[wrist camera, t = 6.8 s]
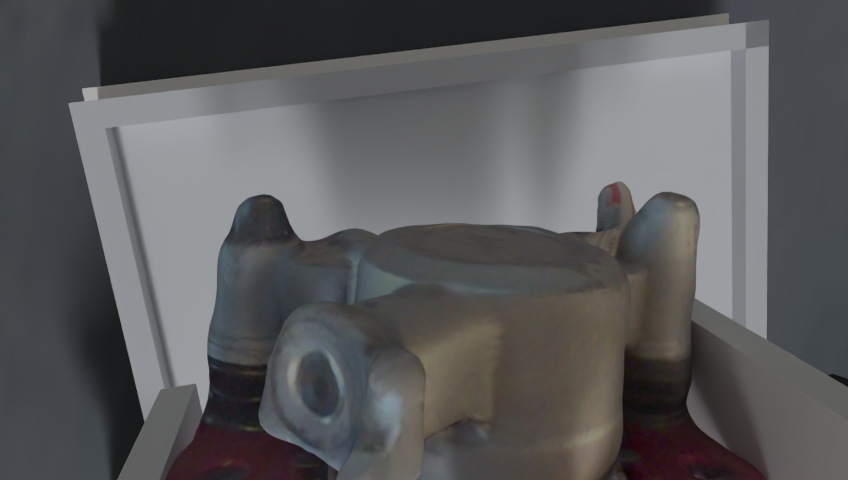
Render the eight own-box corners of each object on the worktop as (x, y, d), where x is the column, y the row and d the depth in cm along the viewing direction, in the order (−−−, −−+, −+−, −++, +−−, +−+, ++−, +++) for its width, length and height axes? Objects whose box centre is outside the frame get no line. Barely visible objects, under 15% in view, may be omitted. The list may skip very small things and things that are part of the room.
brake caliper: (186, 699, 16) (-47, 977, 5) (224, 256, 20) (143, -89, 10) (651, 662, 18) (1199, 808, 7) (588, 264, 22) (859, -15, 12)
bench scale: (122, 641, 29) (40, 886, 20) (-24, 102, 23) (-224, 117, 14) (706, 514, 32) (855, 678, 23) (698, 17, 26) (887, -11, 18)
